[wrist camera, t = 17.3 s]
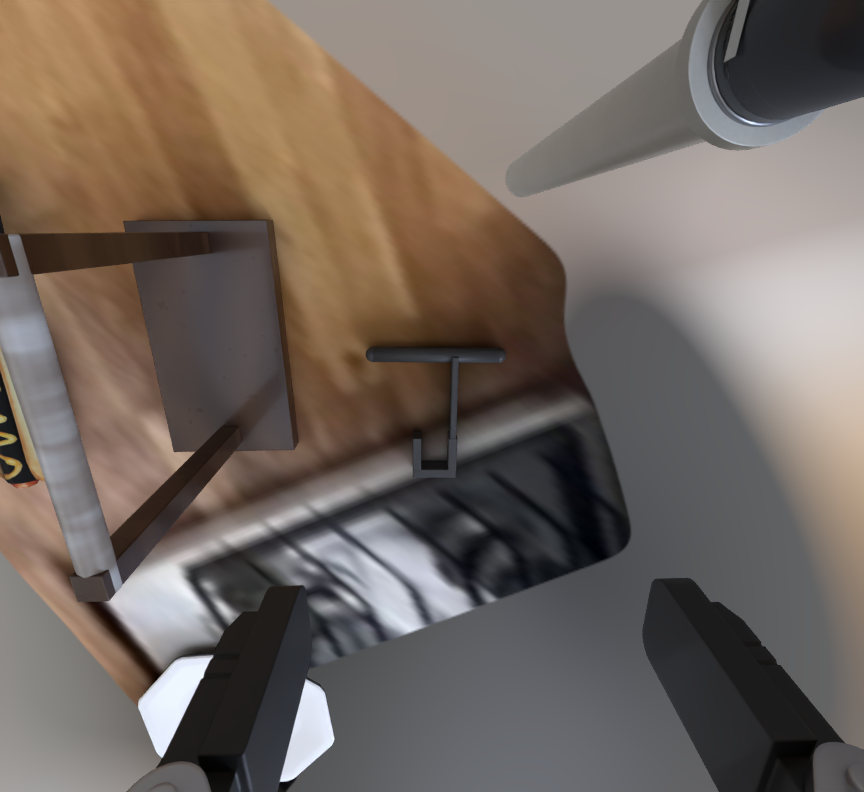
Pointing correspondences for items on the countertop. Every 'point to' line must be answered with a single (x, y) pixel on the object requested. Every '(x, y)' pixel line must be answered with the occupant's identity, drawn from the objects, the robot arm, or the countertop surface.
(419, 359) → the hanger
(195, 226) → the rail stand
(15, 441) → the hot dog
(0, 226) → the black toy vehicle
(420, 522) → the countertop surface
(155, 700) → the plate
